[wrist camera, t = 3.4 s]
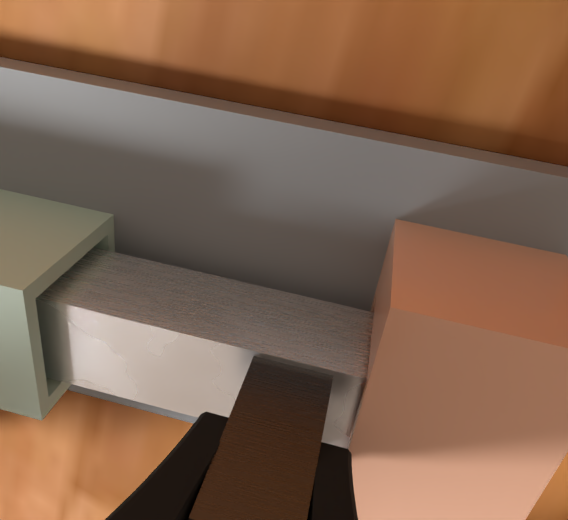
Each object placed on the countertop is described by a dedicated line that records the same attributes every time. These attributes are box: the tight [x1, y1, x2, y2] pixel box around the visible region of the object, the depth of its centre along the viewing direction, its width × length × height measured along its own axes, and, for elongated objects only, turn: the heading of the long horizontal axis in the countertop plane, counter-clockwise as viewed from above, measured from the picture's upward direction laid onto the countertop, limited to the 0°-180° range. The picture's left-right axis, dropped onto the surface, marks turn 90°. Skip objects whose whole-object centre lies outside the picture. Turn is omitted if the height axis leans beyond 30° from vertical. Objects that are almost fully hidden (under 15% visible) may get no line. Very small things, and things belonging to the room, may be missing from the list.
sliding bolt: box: [35, 247, 374, 520], centre depth 13 cm, size 14×3×7 cm, turn 83°
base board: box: [0, 57, 568, 424], centre depth 17 cm, size 22×12×1 cm, turn 83°
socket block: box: [347, 219, 568, 520], centre depth 14 cm, size 4×8×4 cm, turn 173°
